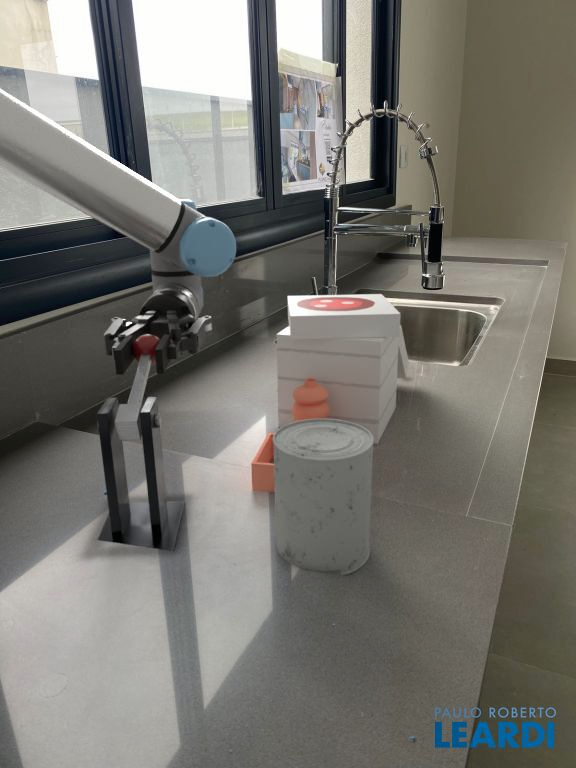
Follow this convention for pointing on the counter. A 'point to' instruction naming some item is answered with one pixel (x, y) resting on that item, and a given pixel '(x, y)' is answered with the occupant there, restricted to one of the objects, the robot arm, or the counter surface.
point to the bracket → (158, 516)
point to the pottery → (305, 407)
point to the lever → (136, 389)
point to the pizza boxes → (343, 357)
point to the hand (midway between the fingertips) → (139, 362)
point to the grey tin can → (323, 494)
